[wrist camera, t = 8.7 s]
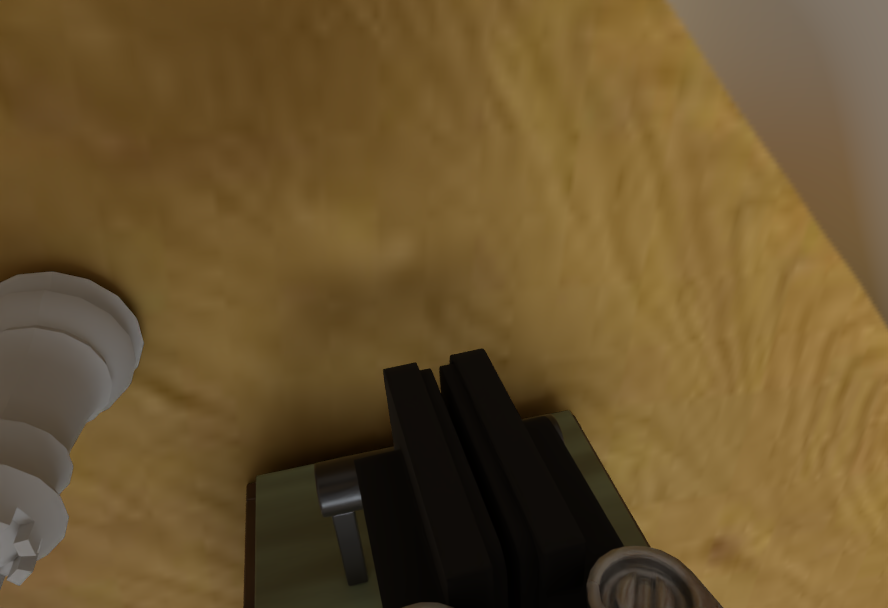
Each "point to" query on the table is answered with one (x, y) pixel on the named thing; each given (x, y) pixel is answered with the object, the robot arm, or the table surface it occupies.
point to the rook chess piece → (52, 399)
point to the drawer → (361, 528)
